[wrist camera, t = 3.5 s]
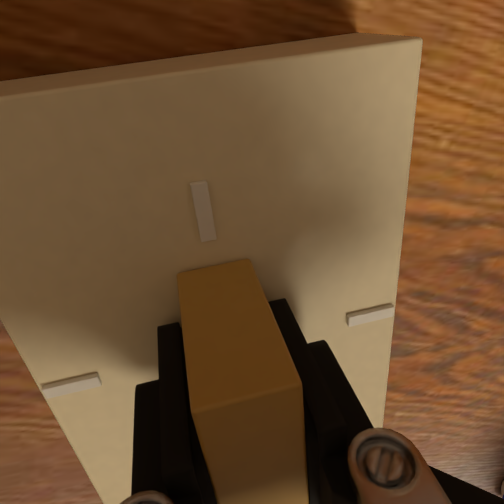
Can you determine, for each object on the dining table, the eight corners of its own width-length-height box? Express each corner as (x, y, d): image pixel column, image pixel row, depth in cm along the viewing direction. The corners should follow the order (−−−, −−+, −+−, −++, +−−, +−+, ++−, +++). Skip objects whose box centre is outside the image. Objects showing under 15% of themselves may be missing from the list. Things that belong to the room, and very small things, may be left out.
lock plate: (-46, 87, 9) (-124, 114, 7) (359, 32, 11) (429, 37, 8) (119, 448, 17) (114, 530, 14) (348, 388, 18) (383, 453, 15)
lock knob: (175, 272, 10) (192, 425, 6) (249, 256, 10) (308, 395, 6) (211, 419, 12) (237, 584, 9) (268, 405, 13) (316, 559, 9)
